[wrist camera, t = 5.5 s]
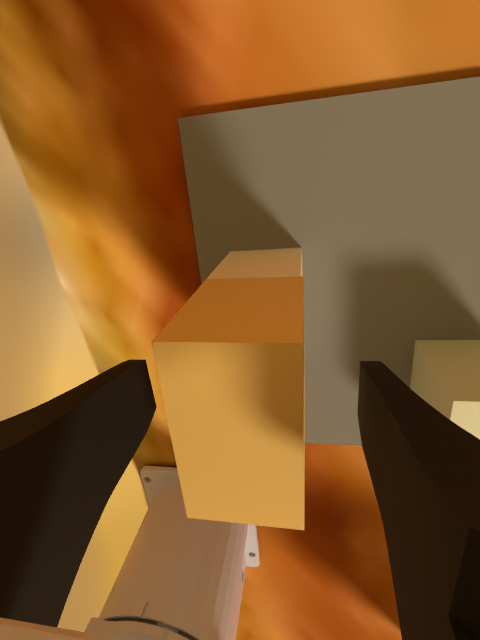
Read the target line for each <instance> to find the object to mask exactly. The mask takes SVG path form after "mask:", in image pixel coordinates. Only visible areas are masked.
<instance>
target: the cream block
mask: <svg viewBox="0 0 480 640" xmlns="http://www.w3.org/2000/svg"><path fill="white" fill-rule="evenodd" d="M298 276H302V247H300V248H283V249H265V250H248V251H230V252H229V254H228V255H227V256H226V257H225V258H224V259H223V260H222V262H221V263H220V264H219V265H218V266H217V267H216V268H215V270H214V271H213V272H212V273H211V274H210V275H209V276H208V278H207V279H228V278H263V277H298Z"/></svg>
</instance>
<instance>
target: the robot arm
mask: <svg viewBox="0 0 480 640" xmlns="http://www.w3.org/2000/svg"><path fill="white" fill-rule="evenodd" d="M155 410H156V403H155V399H154V394H153V390H152V386H151V381H150V377H149V373H148V368H147V364H146V360H127V361H125V362H123V363H120V364H118V365H116V366H114V367H112V368H110V369H109V370H107V371H105V372H103V373H101V374H99V375H97V376H96V377H94V378H92V379H90V380H88V381H86V382H85V383H83V384H81V385H79V386H77V387H75V388H73V389H72V390H69V391H67V392H65V393H64V394H61V395H60V396H58V397H56V398H53V399H52V400H50V401H48V402H46V403H43V404H41V405H39V406H37V407H35V408H32V409H30V410H28V411H25V412H23V413H21V414H18V415H16V416H13V417H11V418H8V419H6V420H3V421H0V640H235V639H236V632H237V625H238V619H239V612H240V605H241V598H242V592H243V585H244V578H245V572H246V566H250V567H257V566H259V564H260V554H259V545H258V536H257V527H256V525H250V524H241V523H231V522H222V521H213V520H203V519H194V518H187V514H186V509H185V504H184V499H183V494H182V489H181V485H180V480H179V475H178V470H177V468H174V467H160V466H143V467H142V469H141V471H140V475H141V479H142V482H143V486H144V490H145V493H146V497H147V500H148V504H149V509H148V511H147V513H146V515H145V518H144V520H143V522H142V524H141V526H140V528H139V531H138V533H137V535H136V537H135V540H134V542H133V544H132V546H131V548H130V550H129V552H128V555H127V557H126V559H125V561H124V563H123V566H122V568H121V570H120V572H119V574H118V577H117V579H116V581H115V583H114V585H113V587H112V590H111V592H110V594H109V596H108V599H107V601H106V603H105V605H104V607H103V609H102V611H101V614H100V616H99V618H98V619H97V618H94V617H93V618H91V619H90V622H89V624H88V626H87V628H86V630H85V632H79V631H73V630H67V629H62V628H57V626H58V623H59V620H60V617H61V614H62V611H63V609H64V606H65V603H66V600H67V598H68V595H69V593H70V590H71V587H72V585H73V582H74V579H75V577H76V574H77V572H78V569H79V566H80V563H81V561H82V559H83V556H84V554H85V552H86V549H87V547H88V544H89V542H90V540H91V537H92V535H93V533H94V530H95V528H96V526H97V524H98V521H99V519H100V517H101V514H102V513H103V510H104V508H105V506H106V504H107V502H108V500H109V498H110V496H111V494H112V492H113V490H114V488H115V487H116V485H117V483H118V481H119V480H120V478H121V476H122V474H123V473H124V471H125V469H126V468H127V466H128V464H129V462H130V461H131V459H132V457H133V456H134V454H135V452H136V451H137V449H138V447H139V445H140V443H141V442H142V440H143V438H144V436H145V434H146V433H147V430H148V428H149V426H150V423H151V421H152V418H153V415H154V413H155ZM357 415H358V422H359V429H360V436H361V443H362V447H363V450H364V454H365V458H366V462H367V465H368V469H369V472H370V476H371V480H372V483H373V487H374V491H375V494H376V498H377V501H378V505H379V509H380V513H381V517H382V521H383V526H384V531H385V536H386V542H387V548H388V554H389V559H390V565H391V571H392V578H393V584H394V590H395V596H396V602H397V608H398V615H399V622H400V628H401V635H402V640H480V439H478V438H477V437H475V436H474V435H472V434H471V433H469V432H467V431H466V430H464V429H463V428H461V427H460V426H458V425H457V424H455V423H454V422H452V421H451V420H450V419H448V418H447V417H445V416H444V415H443V414H442V413H440V412H439V411H438V410H436V409H435V408H434V407H432V406H431V405H430V404H428V403H427V402H426V401H425V400H424V399H422V398H421V397H420V396H419V395H418V394H416V393H415V392H414V391H413V390H412V389H411V388H409V387H408V386H407V385H406V384H405V383H404V382H403V381H402V380H401V379H400V378H398V377H397V376H396V375H395V374H394V373H393V372H392V371H391V370H390V369H389V368H388V367H387V366H386V365H385V364H384V363H383V362H381V361H360V372H359V393H358V413H357Z"/></svg>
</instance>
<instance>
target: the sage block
mask: <svg viewBox="0 0 480 640" xmlns="http://www.w3.org/2000/svg"><path fill="white" fill-rule="evenodd" d="M410 388H411V389H412V390H413V391H414V392H415V393H416V394H418V395H419V396H420V397H421V398H422V399H424V400H425V401H426V402H427V403H428V404H430V405H431V406H432V407H434V408H435V409H436V410H438V411H439V412H440V413H442V414H443V415H444V416H445V417H447V418H448V419H450V420H451V421H452V422H454V423H455V424H457V425H458V426H460V427H461V428H463V429H464V430H466V431H467V432H469V433H471V434H472V435H474V436H475V437H477V438H478V439H480V340H415V348H414V357H413V365H412V374H411V382H410Z"/></svg>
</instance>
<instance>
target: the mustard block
mask: <svg viewBox="0 0 480 640" xmlns="http://www.w3.org/2000/svg"><path fill="white" fill-rule="evenodd" d="M152 347H153V352H154V357H155V362H156V367H157V372H158V377H159V381H160V386H161V391H162V396H163V401H164V406H165V411H166V416H167V421H168V426H169V431H170V435H171V440H172V445H173V450H174V455H175V460H176V465H177V470H178V475H179V480H180V485H181V489H182V494H183V499H184V504H185V509H186V514H187V518H194V519H203V520H213V521H222V522H231V523H241V524H250V525H259V526H269V527H278V528H287V529H296V530H304V505H305V377H304V276H298V277H263V278H228V279H206V280H205V281H204V282H203V283H202V285H201V286H200V287H199V288H198V289H197V290H196V291H195V293H194V294H193V295H192V296H191V297H190V298H189V299H188V301H187V302H186V303H185V304H184V305H183V306H182V308H181V309H180V310H179V311H178V312H177V313H176V314H175V316H174V317H173V318H172V319H171V320H170V321H169V322H168V324H167V325H166V326H165V327H164V328H163V329H162V330H161V332H160V333H159V334H158V335H157V336H156V337H155V338H154V340H153V341H152Z"/></svg>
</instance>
